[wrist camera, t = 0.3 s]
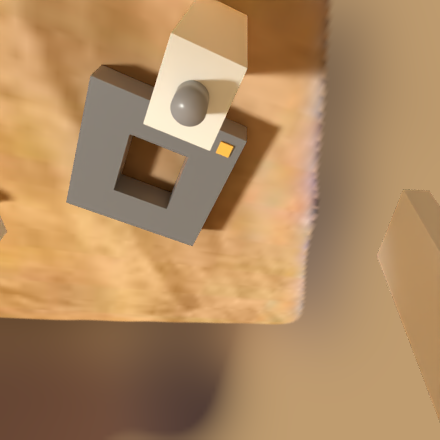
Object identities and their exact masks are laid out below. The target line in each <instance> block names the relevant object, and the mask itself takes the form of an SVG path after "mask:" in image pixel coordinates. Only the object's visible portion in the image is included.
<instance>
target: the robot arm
mask: <svg viewBox="0 0 440 440" xmlns="http://www.w3.org/2000/svg"><path fill="white" fill-rule="evenodd" d="M6 233H7V230H6V228H5V226H4V223H3V221H2V219H1V216H0V240H1V239H2V238H3V236H4V235H5V234H6ZM377 258H378V261H379V263H380V266H381V269H382V271H383V274H384V276H385V279H386V282H387V284H388V287H389V290H390V292H391V295H392V298H393V300H394V303H395V305H396V308H397V311H398V313H399V316H400V319H401V321H402V324H403V327H404V329H405V332H406V335H407V337H408V340H409V342H410V345H411V348H412V350H413V353H414V355H415V358H416V361H417V364H418V366H419V369H420V371H421V374H422V377H423V379H424V382H425V385H426V387H427V390H428V393H429V395H430V398H431V400H432V403H433V406H434V408H435V411H436V414H437V416H438V419H439V422H440V206H439V204H438V203H437V201H436V200H435V198H434V197H433V196H432V194H431V192H430V191H427V190H426V191H425V190H410V189H403V191H402V193H401V196H400V198H399V201H398V203H397V206H396V208H395V211H394V213H393V216H392V219H391V221H390V224H389V226H388V229H387V231H386V234H385V236H384V239H383V241H382V244H381V246H380V249H379V251H378V254H377Z"/></svg>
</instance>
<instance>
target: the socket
mask: <svg viewBox="0 0 440 440" xmlns="http://www.w3.org/2000/svg"><path fill="white" fill-rule="evenodd" d="M153 90H154V87H152V86H150V85H148V84H146V83H143V82H141V81H139V80H136V79H134V78H132V77H129V76H127V75H125V74H122V73H120V72H118V71H115V70H113V69H111V68H108V67H106V66H104V65H101V66H100V67H99V68H98V69H97V70H96V71H95V72H94V73H93V74H92V75H91V76H90V81H89V87H88V92H87V97H86V102H85V107H84V113H83V118H82V123H81V128H80V133H79V139H78V144H77V149H76V154H75V160H74V165H73V170H72V175H71V180H70V186H69V191H68V196H67V201H66V203H69V204H72V205H75V206H78V207H81V208H84V209H87V210H90V211H92V212H95V213H98V214H101V215H104V216H107V217H110V218H113V219H116V220H118V221H121V222H124V223H127V224H130V225H133V226H136V227H139V228H141V229H144V230H147V231H150V232H153V233H156V234H159V235H162V236H165V237H167V238H170V239H173V240H176V241H179V242H182V243H185V244H188V245H191V246H193V244H194V242H195V240H196V238H197V236H198V235H199V233H200V231H201V229H202V227H203V225H204V223H205V221H206V219H207V217H208V215H209V213H210V211H211V209H212V208H213V206H214V204H215V202H216V200H217V198H218V196H219V194H220V192H221V190H222V188H223V186H224V184H225V183H226V181H227V179H228V177H229V175H230V173H231V171H232V169H233V167H234V165H235V163H236V161H237V159H238V157H239V156H240V154H241V152H242V150H243V148H244V146H245V144H246V142H247V127H246V126H243V125H241V124H239V123H236V122H234V121H232V120H229V119H227V118H225V119H224V121H223V123H222V126H221V128H220V130H219V132H218V134H217V137H216V139H215V141H214V143H213V145H212V147H211V150H210V151H209V150H206V149H204V148H201V147H199V146H196V145H194V144H192V143H189V142H187V141H184V140H182V139H179V138H177V137H174V136H172V135H169V134H167V133H164V132H162V131H160V130H157V129H155V128H152V127H150V126H147V125H145V124H143V122H144V119H145V116H146V113H147V109H148V106H149V103H150V100H151V96H152V93H153ZM133 136H136V137H138V138H141V139H143V140H146V141H148V142H151V143H153V144H156V145H158V146H161V147H163V148H166V149H168V150H171V151H173V152H176V153H178V154H181V155H184V156H186V159H185V161H184V164H183V166H182V168H181V171H180V173H179V176H178V178H177V181H176V183H175V185H174V188H173V190H172V193H171V192H168V191H166V190H163V189H160V188H157V187H155V186H152V185H149V184H147V183H144V182H141V181H139V180H136V179H133V178H131V177H128V176H125V175H123V174H122V171H123V168H124V165H125V161H126V158H127V154H128V151H129V148H130V144H131V141H132V137H133Z"/></svg>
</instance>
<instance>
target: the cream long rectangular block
mask: <svg viewBox="0 0 440 440" xmlns="http://www.w3.org/2000/svg"><path fill="white" fill-rule="evenodd" d="M247 68H248V16H247V15H245V14H243V13H241V12H239V11H237V10H235V9H233V8H231V7H229V6H227V5H225V4H223V3H221V2H219V1H217V0H195V1H194V2H193V3H192V5H191V6H190V7H189V9H188V10H187V12H186V13H185V14H184V16H183V17H182V18H181V20H180V21H179V23H178V24H177V25H176V27H175V28H174V29H173V31H172V32H171V35H170V38H169V41H168V44H167V48H166V51H165V54H164V57H163V61H162V64H161V67H160V70H159V74H158V77H157V80H156V83H155V87H154V90H153V93H152V96H151V100H150V103H149V106H148V109H147V113H146V116H145V119H144V122H143V124H145V125H147V126H150V127H152V128H155V129H157V130H160V131H162V132H164V133H167V134H169V135H172V136H174V137H177V138H179V139H182V140H184V141H187V142H189V143H192V144H194V145H196V146H199V147H201V148H204V149H206V150H209V151H210V150H211V147H212V145H213V143H214V141H215V139H216V137H217V134H218V132H219V130H220V128H221V126H222V123H223V121H224V119H225V117H226V115H227V112H228V110H229V108H230V106H231V104H232V101H233V99H234V97H235V95H236V93H237V90H238V88H239V86H240V84H241V82H242V79H243V77H244V75H245V73H246V71H247Z"/></svg>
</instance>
